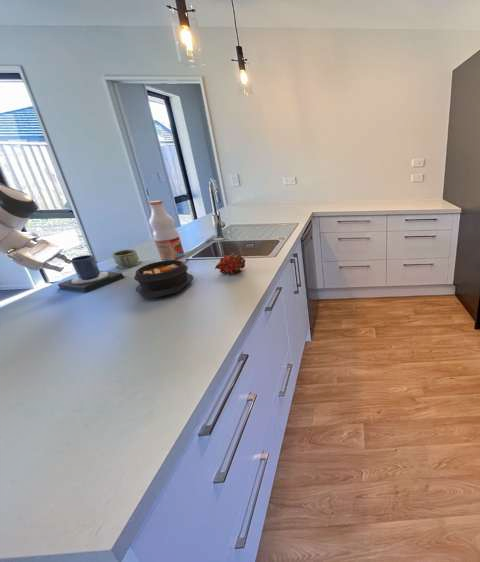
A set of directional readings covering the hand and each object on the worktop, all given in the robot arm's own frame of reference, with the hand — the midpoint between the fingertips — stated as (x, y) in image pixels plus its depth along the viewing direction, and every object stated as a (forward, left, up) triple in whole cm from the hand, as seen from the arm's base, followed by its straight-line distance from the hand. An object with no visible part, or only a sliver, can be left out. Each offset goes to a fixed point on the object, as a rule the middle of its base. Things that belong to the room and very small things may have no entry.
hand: (67, 265), depth 113 cm
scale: (+3, +4, -9) cm, 10 cm away
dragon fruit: (+51, +26, -9) cm, 58 cm away
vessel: (-3, +23, -9) cm, 24 cm away
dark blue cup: (+3, +4, -6) cm, 8 cm away
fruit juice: (+16, +30, -9) cm, 35 cm away
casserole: (+36, +8, -9) cm, 38 cm away
